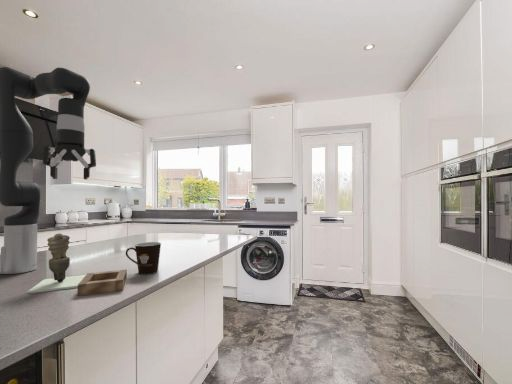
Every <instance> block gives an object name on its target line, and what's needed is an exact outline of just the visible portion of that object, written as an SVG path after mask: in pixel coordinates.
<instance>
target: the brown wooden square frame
mask: <svg viewBox="0 0 512 384" xmlns="http://www.w3.org/2000/svg"><path fill="white" fill-rule="evenodd" d="M127 272H128V271H127V269H120V270H119V269H118V270H108V271H97V272H90V273H89V272H88V273H86V274H85V275H86V276H85V277H84V278H83V279H82V280H81V282H80V283H79V284H78V288H77V297H80V296H87V295H89V296H90V295H95V294H105V293H113V292H120V291H124V287H125V285H126V282H127V280H128V279H127V277H128V276H127V274H128V273H127Z"/></svg>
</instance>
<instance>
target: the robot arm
mask: <svg viewBox="0 0 512 384" xmlns="http://www.w3.org/2000/svg"><path fill="white" fill-rule="evenodd" d="M90 91H91V84H90V81H89V80H88V78H86V76H83V75H81V74H80V73H77V72H74V71H72V70H70V69H68V68H64V67H56V68H54V69H53V70H52V71H50V72H42V73H39V74H37V75H36V76H35V77H33V76H30V75H28V74H26V73H23V72H21V71H19V70H15V69H12V68H9V67H2V68H0V204H1V205H2V206H3V207H22V209H20V211H19V212H17V213H15V214H11V215H10V216H6V217H5V218H4V221H3V223H4V224H3V246H1V247H0V275H4V274H5V275H14V274H23V273H27V272H31V271H35V270H37V268H38V267H37V266H38V220H39V217H40V206H41V205H40V203H41V188H40V186H39V184H38V183H35V182H32V181H17V180H16V179H17V171H18V170H19V167H20V166H21V164H23V162H24V161H25V160H26V158H27V157H28V156H29V155H30V154H31V152H32V151H33V149H34V132H33V129H32V127H31V125H30V123H29V122H28V121H27V119H26V118H25V117H24V115H23V114H22V113H21V110H20V109H19V107H18V105H17V102H16V97H17V98H20V99H24V100H33V99H37V98H39V97H42V96H43V97H44V96H46V95H62V94H65V93H69V94H72V98H70V97H62V98H60V99H58V103H57V108H58V109H57V121H56V145H55V147H52V146H51V147H50V146H47V145H46V146H45V145H44V148H43V158H42V164H43V165H45V166H47V167H49V168H50V171H49V172H50V177H51V178H52V180H53V179H54V180H58V166H59V165H60V164H61V163H63V161H64V162H71V161H72V162H78V161H79V162H80V163H81V165H82V166H83V180H88V179H89V178H90V176H91V175H90V170H91V168H95V167H97V159H96V158H97V157H96V150H95V149H93V148H90V149H86V148H85V129H86V128H85V119H84V118H85V105H86V103H87V99H88V96H89V93H90ZM54 152H55V153H56V154H57V155H56V156H55V157H54V159H53V160H52V159H51V158H52V155H53V154H54ZM86 154H87V156H89V160H90V163H88V162H87V161H86V159H85V158H84V155H86Z"/></svg>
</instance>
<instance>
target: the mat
mask: <svg viewBox="0 0 512 384" xmlns="http://www.w3.org/2000/svg"><path fill="white" fill-rule="evenodd" d="M86 275H87V274H85V275H75V276H72V275H71V276H65V279H64V280H63V281H62V282H58V281H57V280H54V277H53V278H44V279H43V280H41V281H40V282H38V283H37V284H36V285H35V286H33V287H31V288H30V289H29V290H27V294H35V293H43V292H51V291H59V290H68V289H69V290H71V289H78V284H79V283H80V282H81V280H82V279H83V278H84V277H85V276H86Z"/></svg>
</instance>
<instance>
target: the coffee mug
mask: <svg viewBox="0 0 512 384" xmlns="http://www.w3.org/2000/svg"><path fill="white" fill-rule="evenodd" d="M161 246H162V243H161V242H158V241H145V242H139V243H136V244H134V247H128V248H127V249H126V251H125V256H126V258H127V259H129V260H130V261H131V262H132V263H134V264H136V265H137V272H138V274H139V275H152V274H156V273H158V271H159V264H160V263H159V262H160V253H161ZM130 250H133V251H134V252H135V255H136V260H134V259H133V258H131V257H130V255H129V254H128V252H129V251H130Z"/></svg>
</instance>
